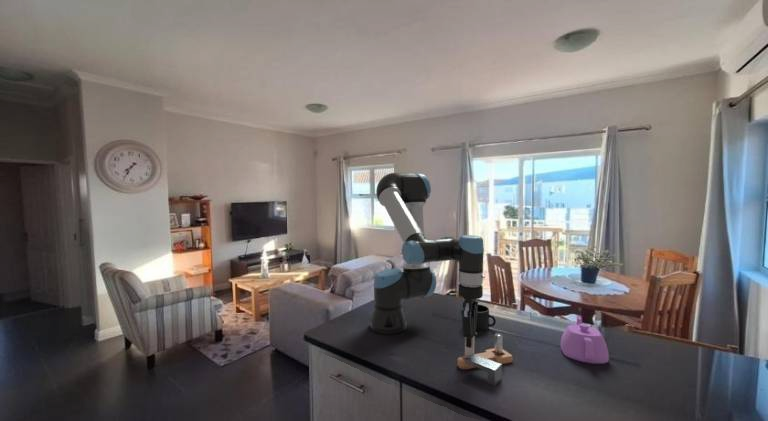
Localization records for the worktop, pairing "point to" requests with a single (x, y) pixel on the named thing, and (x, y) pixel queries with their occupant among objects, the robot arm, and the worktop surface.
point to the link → (488, 355)
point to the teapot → (584, 343)
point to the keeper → (487, 367)
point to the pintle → (498, 344)
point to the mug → (483, 319)
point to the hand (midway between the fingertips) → (469, 355)
